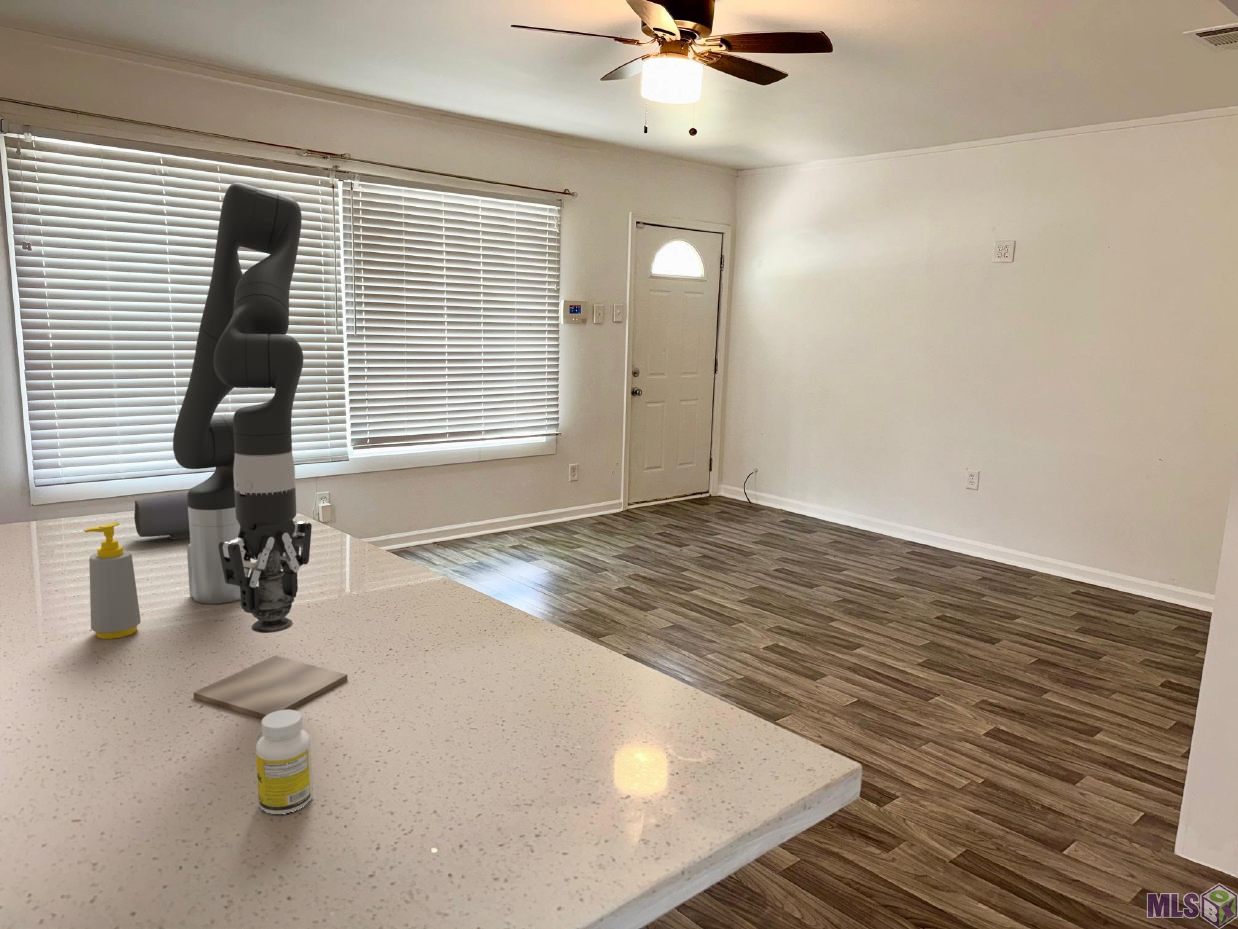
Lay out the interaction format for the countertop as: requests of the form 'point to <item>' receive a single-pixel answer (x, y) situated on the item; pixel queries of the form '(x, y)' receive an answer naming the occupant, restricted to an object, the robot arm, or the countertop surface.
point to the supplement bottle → (283, 763)
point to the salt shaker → (272, 599)
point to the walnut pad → (270, 687)
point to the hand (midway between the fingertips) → (270, 604)
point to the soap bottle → (112, 588)
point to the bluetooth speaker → (162, 516)
